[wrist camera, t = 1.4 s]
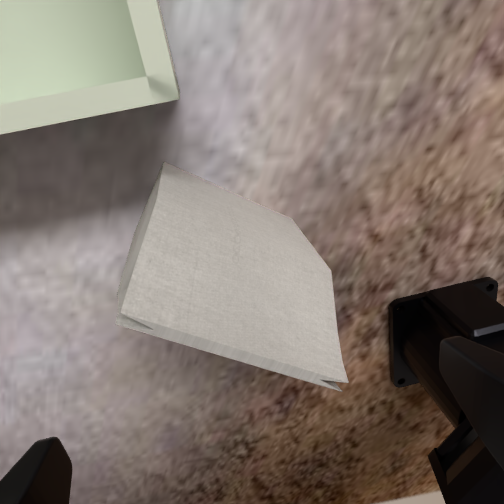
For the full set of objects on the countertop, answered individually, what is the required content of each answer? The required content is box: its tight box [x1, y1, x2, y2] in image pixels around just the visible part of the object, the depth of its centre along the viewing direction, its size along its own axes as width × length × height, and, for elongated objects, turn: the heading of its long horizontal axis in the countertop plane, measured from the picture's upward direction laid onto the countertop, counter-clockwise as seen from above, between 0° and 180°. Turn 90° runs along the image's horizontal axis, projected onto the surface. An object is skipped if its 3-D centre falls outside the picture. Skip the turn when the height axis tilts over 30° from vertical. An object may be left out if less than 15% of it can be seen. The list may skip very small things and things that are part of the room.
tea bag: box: [115, 162, 349, 392], centre depth 15 cm, size 4×7×10 cm, turn 63°
